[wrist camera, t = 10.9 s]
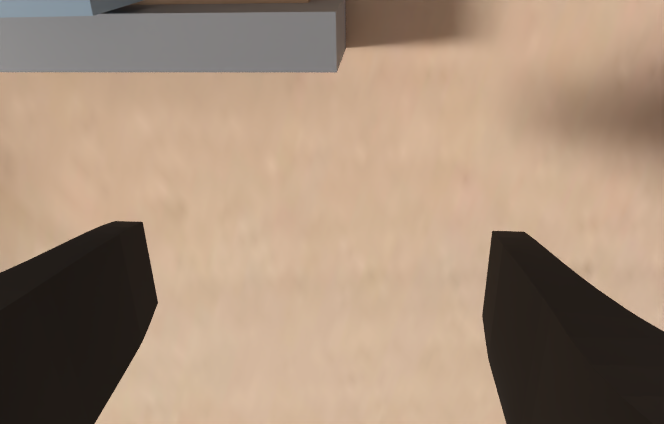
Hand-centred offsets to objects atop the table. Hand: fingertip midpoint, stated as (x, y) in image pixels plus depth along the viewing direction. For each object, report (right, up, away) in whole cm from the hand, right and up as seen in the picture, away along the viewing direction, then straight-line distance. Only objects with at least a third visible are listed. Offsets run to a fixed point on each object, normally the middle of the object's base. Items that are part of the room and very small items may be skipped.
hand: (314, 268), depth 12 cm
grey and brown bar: (-9, +8, +8) cm, 14 cm away
